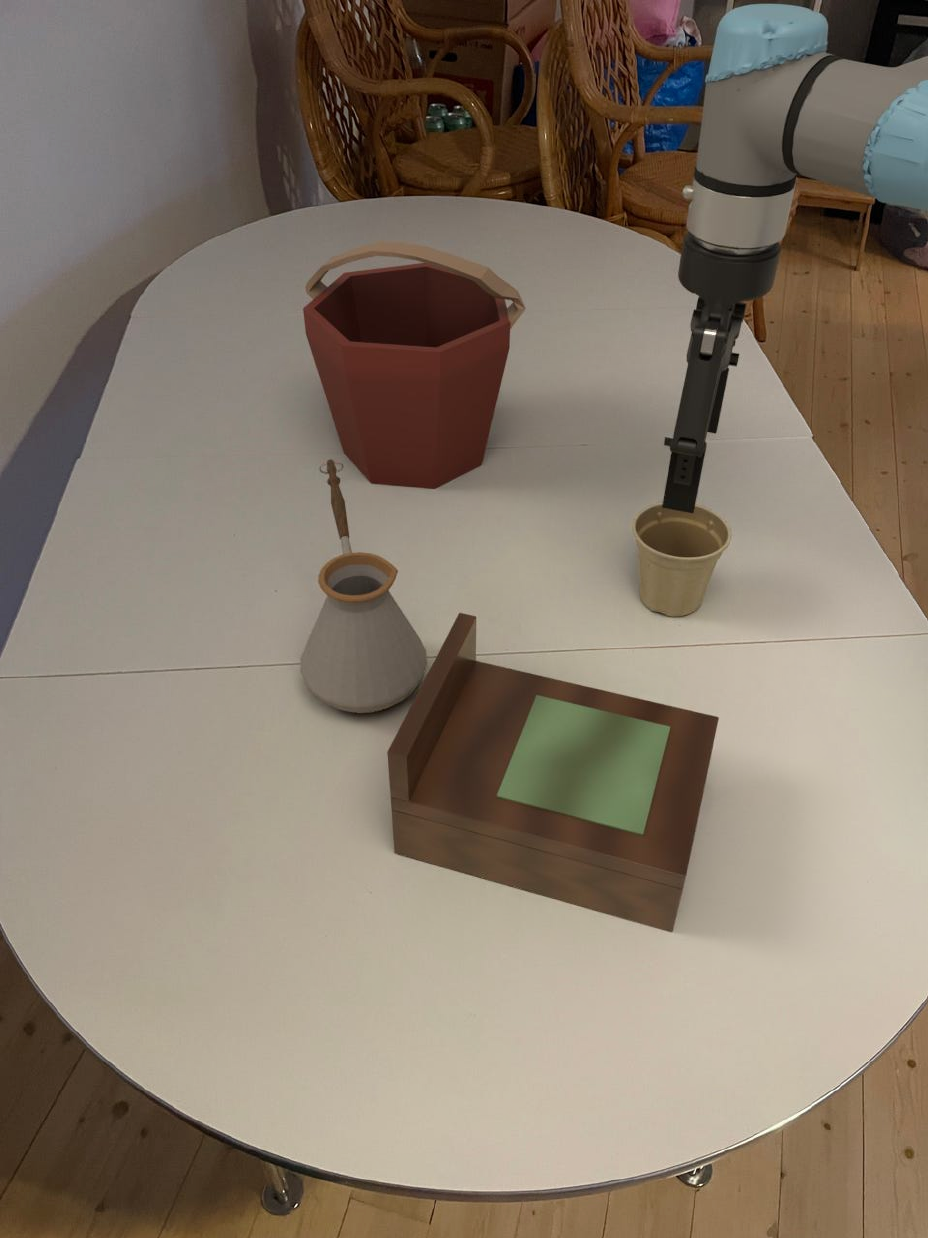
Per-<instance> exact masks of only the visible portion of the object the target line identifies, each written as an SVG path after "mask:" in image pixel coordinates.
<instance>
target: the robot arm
mask: <svg viewBox="0 0 928 1238" xmlns="http://www.w3.org/2000/svg"><path fill="white" fill-rule="evenodd" d="M715 33H716V34H715V39H714V42H713V48H712V52H711V53H712V55H711V58H710V63H709V68H708V71H707V72H708V73H707V74H706V75H705V79H704V83H705V87H704V88H705V90H704V98H703V107H702V117H701V123H700V124H701V125H700V133H699V140H698V147H697V155H696V160H695V161H696V162H695V163H694V170H693V177H692V178H693V179H692V185H685V186H684V187H683V189H682V191H681V195H682V197H683V198H684V199H686V200H691V201H690V203H689V205H688V210H687V217H686V218H687V219H686V225H685V227H686V229H687V231H688V232H687V233H685V234H684V235H683V238H682V244H681V251H680V259H679V266H678V270H677V271H678V272H677V278H678V281H679V283H680V284H681V285H682V287H683V288H684V289H685V290H687V292H689V293H692V294H695V295H696V296H697V297H698V298H697V301H696V307H695V308H694V309H693V311H692V315H691V319H690V323H689V324H690V326H689V327H690V332H691V334H690V337H689V342H688V347H687V353H686V363H687V367H686V372H685V376H684V381H683V386H682V392H681V396H680V401H679V406H678V411H677V414H676V421H675V425H674V429H673V434H672V437H668V436H665V437H664V440H663V441H664V442H663V446H664V447H669V451H670V457H669V462H668V468H667V469H668V470H667V475H666V480H665V481H666V482H665V488H664V493H663V499H662V502H663V505H662V508H667V509H672V510H678V511H683V512H688V513H693V512H694V509H695V504H697V498H698V493H699V487H700V482H701V478H702V472H703V467H704V461H705V458H706V457H705V456H706V453H707V446H708V445H707V441H706V440H707V437H708V433H710V434H715V435H716V434H717V432H718V428H719V423H720V418H721V413H722V409H723V408H722V407H723V403H724V399H725V398H724V397H725V393H726V387H727V382H728V377H729V371H730V368H729V367H738V362H739V358H740V353H737V352H733V350H734V347H735V346H736V342H737V339H738V338H739V336H740V333H741V328H742V324H743V322H744V318H745V315H746V310H747V303H746V302H752V301H754V300H758V299H761V298H763V297H764V296H766V295H768V293H770V292H771V290H772V288H773V287H774V283H775V280H776V274H777V269H778V264H779V260H780V256H781V251H782V246H781V244H780V241H782V239H783V238H784V237H785V236H786V232H787V228H788V227H787V226H788V223H789V217H790V213H791V208H792V204H793V199H794V195H795V190H796V186H797V184H796V181H797V175H799V176H801V177H806V178H809V179H813V180H816V181H819V182H823V183H825V184H828V185H831V186H835V187H838V188H842V189H844V190H847V191H851V192H854V193H858V194H860V195H864V196H866V197H870V198H873V199H876V200H877V201H878V202H880V203H883V204H886V205H889V206H894V207H899V206H902V207H906V208H911V209H915V210H916V209H917V210H920V211H926V212H928V55H927V56H924V57H921V58H918V59H915V60H912V61H909V62H907V63H904V64H901V65H899V66H896V67H889V66H882V65H877V64H871V63H866V62H861V61H856V60H851V59H847V58H845V57H840V56H837V55H835V54H834V53H833V54H832V53H828V52H826V51H827V50H828V48H827V47H828V44H829V42H828V35H829V23H828V21H827V18H826V17H825V16H824V14H822V13H821V12H817V11H813V10H812V9H810V8H807V7H804V6H798V5H794V4H793V5H792V4H785V3H753V4H747V5H742V6H738V7H736V8H735V7H734V8H733V9H731V10H729V11H728V12H727V13H725V14H724V15H723V17H722V18H721V19H720V21H719V23H718V25H717V28H716V32H715Z"/></svg>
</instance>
